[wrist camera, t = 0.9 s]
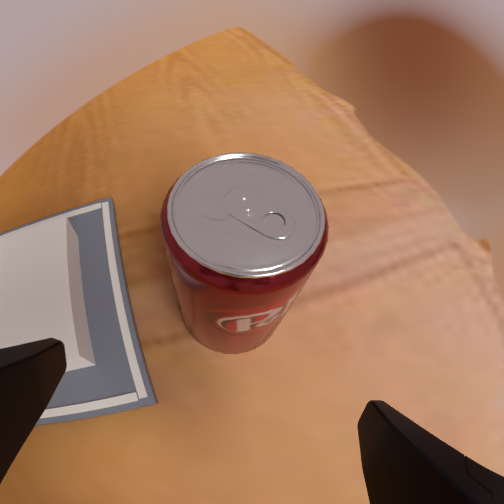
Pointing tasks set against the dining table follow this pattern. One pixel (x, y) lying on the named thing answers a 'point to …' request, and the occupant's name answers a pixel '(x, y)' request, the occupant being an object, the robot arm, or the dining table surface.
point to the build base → (100, 325)
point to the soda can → (240, 246)
